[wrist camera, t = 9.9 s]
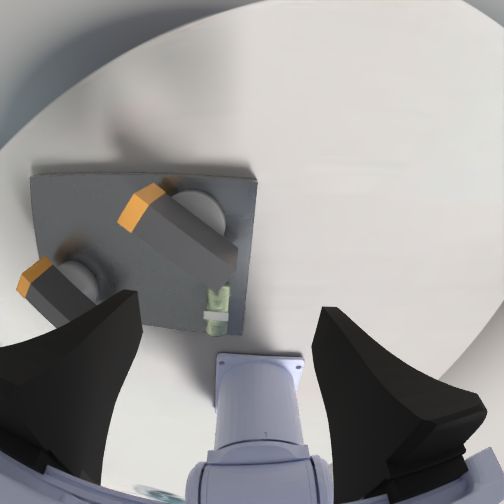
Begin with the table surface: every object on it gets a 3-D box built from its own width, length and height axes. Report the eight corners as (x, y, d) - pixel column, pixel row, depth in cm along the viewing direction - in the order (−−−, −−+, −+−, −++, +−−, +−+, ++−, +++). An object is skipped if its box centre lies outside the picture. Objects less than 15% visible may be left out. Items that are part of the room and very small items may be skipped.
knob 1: (117, 294, 21) (94, 327, 17) (95, 323, 22) (74, 355, 18) (58, 239, 19) (25, 262, 15) (41, 273, 20) (13, 298, 16)
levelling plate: (242, 326, 24) (241, 350, 21) (56, 300, 23) (41, 317, 20) (257, 179, 19) (258, 187, 16) (38, 174, 18) (15, 181, 15)
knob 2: (251, 227, 19) (252, 253, 15) (211, 273, 20) (202, 308, 16) (169, 164, 17) (146, 173, 13) (134, 216, 19) (106, 239, 14)
